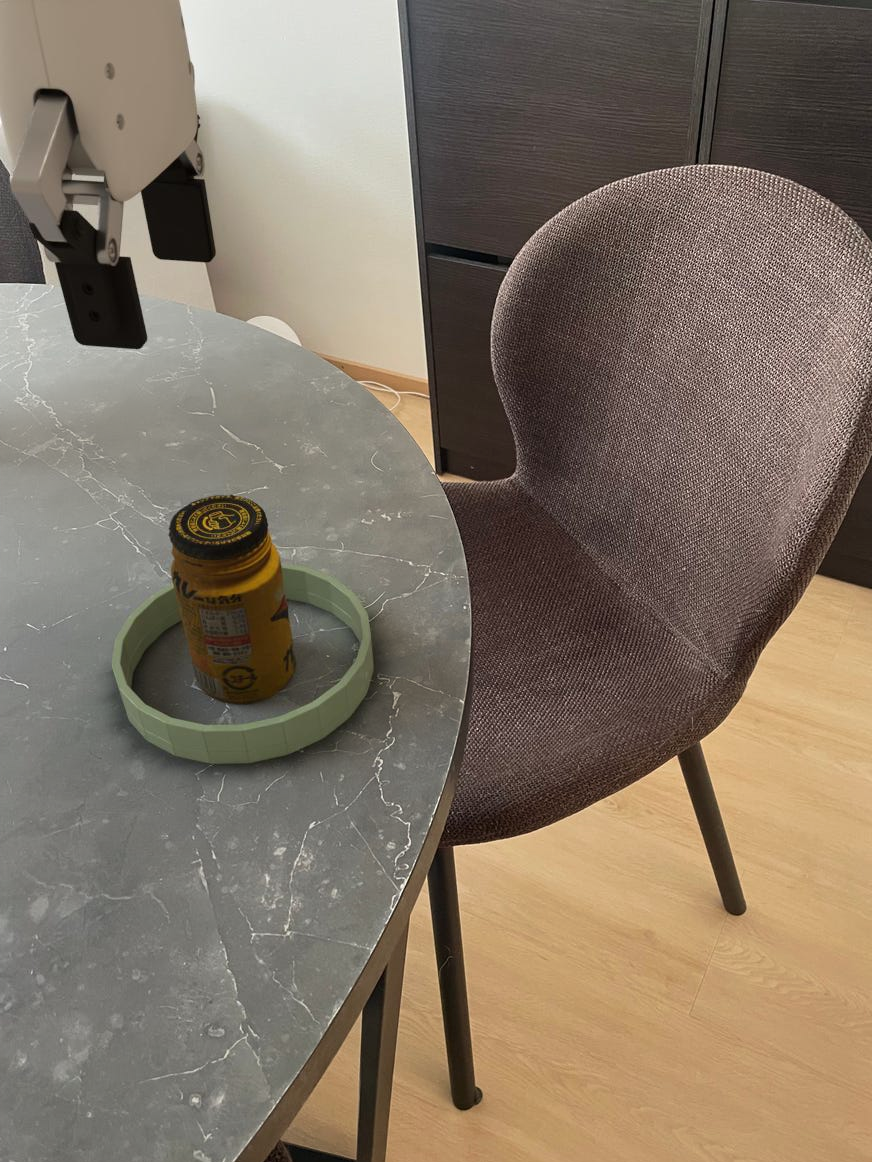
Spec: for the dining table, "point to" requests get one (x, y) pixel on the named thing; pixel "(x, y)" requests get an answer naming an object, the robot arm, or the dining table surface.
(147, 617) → the green faceted hoop
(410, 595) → the dining table surface
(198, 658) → the yellow coffee can
